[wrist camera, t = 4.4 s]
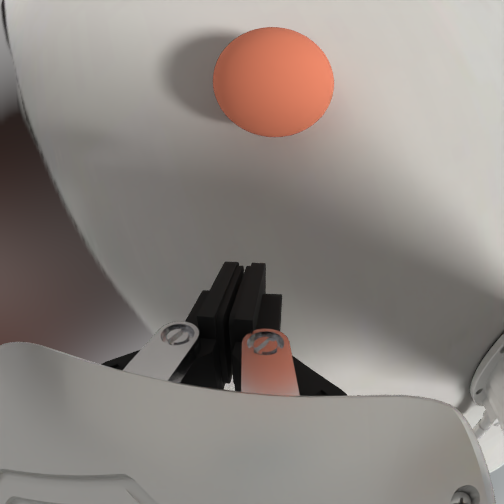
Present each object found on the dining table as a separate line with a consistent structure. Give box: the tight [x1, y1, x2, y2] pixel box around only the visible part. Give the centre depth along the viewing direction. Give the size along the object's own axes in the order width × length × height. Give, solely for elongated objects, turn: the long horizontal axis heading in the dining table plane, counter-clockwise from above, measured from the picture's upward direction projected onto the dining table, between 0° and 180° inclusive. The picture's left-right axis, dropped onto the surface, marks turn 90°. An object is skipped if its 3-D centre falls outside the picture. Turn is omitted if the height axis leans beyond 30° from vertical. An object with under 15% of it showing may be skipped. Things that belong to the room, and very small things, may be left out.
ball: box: [213, 27, 334, 137], centre depth 11 cm, size 6×6×6 cm
